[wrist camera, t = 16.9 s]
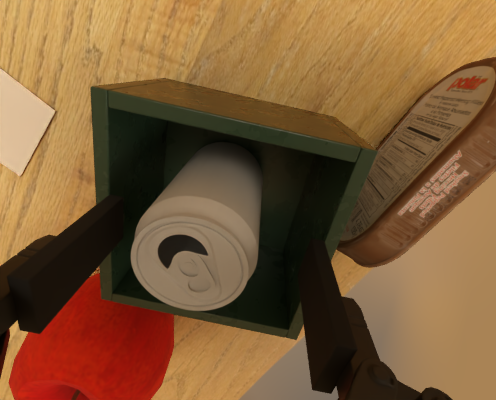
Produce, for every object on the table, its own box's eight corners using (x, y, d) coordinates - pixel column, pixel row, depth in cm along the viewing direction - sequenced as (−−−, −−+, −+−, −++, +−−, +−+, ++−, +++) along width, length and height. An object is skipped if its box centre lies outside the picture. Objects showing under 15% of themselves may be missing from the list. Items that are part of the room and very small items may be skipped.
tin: (342, 228, 26) (371, 296, 18) (314, 212, 25) (333, 275, 18) (478, 76, 19) (611, 83, 12) (445, 51, 19) (561, 41, 11)
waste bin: (335, 117, 21) (379, 151, 13) (288, 254, 27) (296, 340, 19) (163, 77, 21) (89, 85, 12) (154, 225, 27) (100, 299, 18)
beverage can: (244, 126, 22) (218, 187, 11) (274, 195, 24) (277, 300, 13) (175, 156, 23) (93, 236, 12) (210, 218, 26) (166, 329, 15)
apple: (113, 325, 34) (28, 466, 22) (69, 248, 29) (-73, 375, 17) (204, 316, 32) (165, 465, 20) (173, 233, 27) (96, 364, 15)
